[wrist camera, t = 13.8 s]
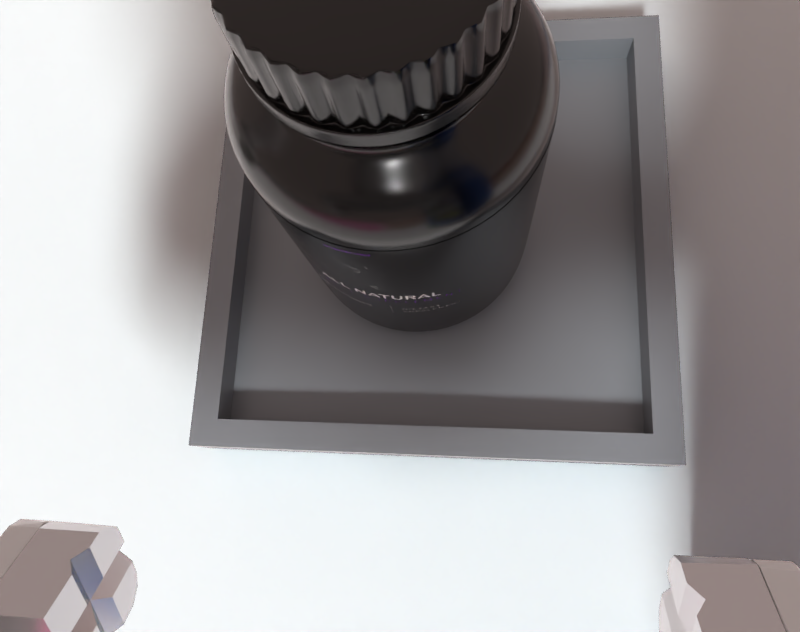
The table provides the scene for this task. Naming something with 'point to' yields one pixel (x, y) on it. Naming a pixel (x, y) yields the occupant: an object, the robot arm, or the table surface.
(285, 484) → the table surface
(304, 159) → the supplement bottle
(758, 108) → the table surface
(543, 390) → the tray
